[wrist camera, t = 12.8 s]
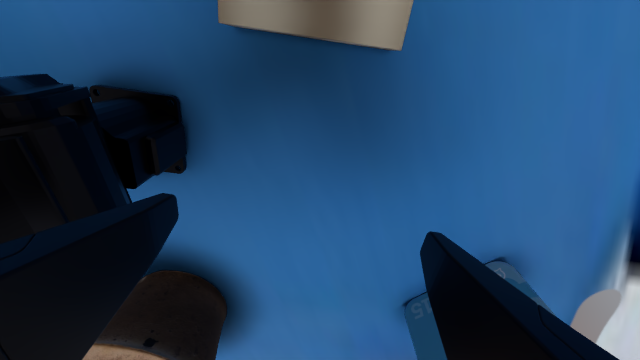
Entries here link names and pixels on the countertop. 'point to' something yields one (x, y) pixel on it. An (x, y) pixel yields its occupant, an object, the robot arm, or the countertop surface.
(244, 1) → the beige square block
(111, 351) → the pitcher
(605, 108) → the countertop surface
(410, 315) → the data package
